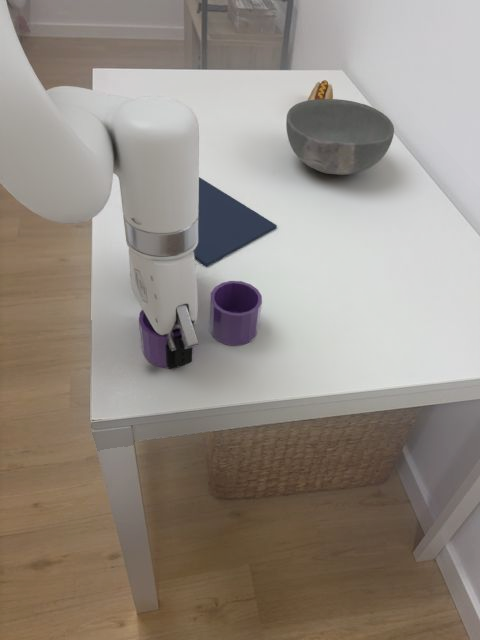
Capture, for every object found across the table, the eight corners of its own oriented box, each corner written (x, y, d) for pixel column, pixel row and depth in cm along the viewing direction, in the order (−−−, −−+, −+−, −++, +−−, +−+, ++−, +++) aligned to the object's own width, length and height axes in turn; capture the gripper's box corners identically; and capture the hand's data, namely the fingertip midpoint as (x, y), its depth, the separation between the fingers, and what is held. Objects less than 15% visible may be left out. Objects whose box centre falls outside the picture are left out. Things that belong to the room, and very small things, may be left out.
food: (310, 97, 126) (313, 75, 123) (333, 101, 126) (337, 79, 122) (302, 121, 117) (305, 98, 113) (326, 126, 117) (330, 103, 113)
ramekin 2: (199, 326, 71) (199, 295, 67) (234, 304, 75) (236, 274, 71) (233, 353, 69) (236, 323, 65) (267, 329, 72) (272, 299, 68)
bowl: (386, 155, 110) (400, 106, 103) (375, 204, 97) (390, 153, 89) (293, 134, 112) (300, 86, 105) (269, 180, 99) (275, 128, 91)
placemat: (125, 208, 88) (124, 205, 88) (196, 178, 97) (196, 175, 96) (206, 267, 80) (206, 263, 80) (276, 228, 89) (276, 225, 88)
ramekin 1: (131, 346, 68) (127, 315, 64) (171, 322, 71) (170, 291, 67) (164, 376, 65) (163, 345, 61) (204, 349, 69) (205, 319, 65)
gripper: (100, 191, 58) (117, 309, 71) (158, 288, 48) (166, 403, 61) (164, 179, 61) (169, 294, 74) (231, 268, 51) (224, 383, 64)
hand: (168, 343), depth 68 cm, fingers closed on ramekin 1, 6 cm apart
